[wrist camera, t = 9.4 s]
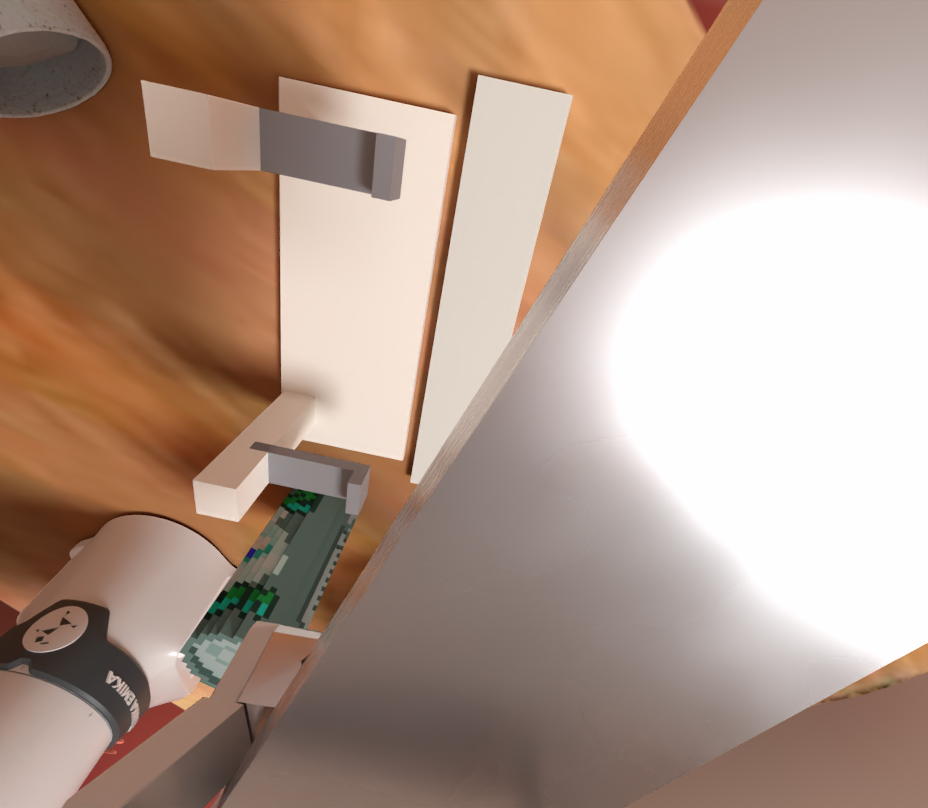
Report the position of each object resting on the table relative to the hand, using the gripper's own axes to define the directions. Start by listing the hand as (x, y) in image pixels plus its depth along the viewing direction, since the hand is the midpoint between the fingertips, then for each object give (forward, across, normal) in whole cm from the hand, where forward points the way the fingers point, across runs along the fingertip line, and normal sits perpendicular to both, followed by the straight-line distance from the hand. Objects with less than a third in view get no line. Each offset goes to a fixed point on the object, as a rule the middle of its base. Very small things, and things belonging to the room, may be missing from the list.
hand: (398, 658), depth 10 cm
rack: (+24, +9, -1) cm, 25 cm away
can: (+24, +11, +18) cm, 32 cm away
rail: (0, 0, 0) cm, 0 cm away
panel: (+24, 0, 0) cm, 24 cm away
